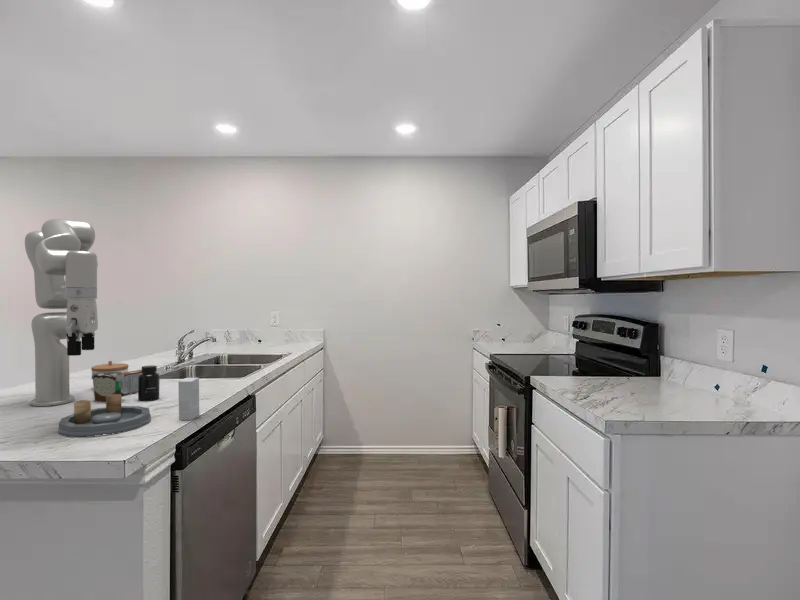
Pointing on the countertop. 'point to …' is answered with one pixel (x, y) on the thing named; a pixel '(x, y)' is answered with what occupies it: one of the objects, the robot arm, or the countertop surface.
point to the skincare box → (188, 398)
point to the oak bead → (82, 411)
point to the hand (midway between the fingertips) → (81, 352)
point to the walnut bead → (113, 403)
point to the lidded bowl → (110, 367)
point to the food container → (106, 384)
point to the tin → (130, 382)
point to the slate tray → (106, 428)
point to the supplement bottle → (148, 384)
